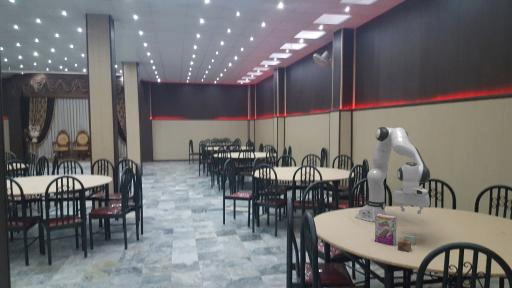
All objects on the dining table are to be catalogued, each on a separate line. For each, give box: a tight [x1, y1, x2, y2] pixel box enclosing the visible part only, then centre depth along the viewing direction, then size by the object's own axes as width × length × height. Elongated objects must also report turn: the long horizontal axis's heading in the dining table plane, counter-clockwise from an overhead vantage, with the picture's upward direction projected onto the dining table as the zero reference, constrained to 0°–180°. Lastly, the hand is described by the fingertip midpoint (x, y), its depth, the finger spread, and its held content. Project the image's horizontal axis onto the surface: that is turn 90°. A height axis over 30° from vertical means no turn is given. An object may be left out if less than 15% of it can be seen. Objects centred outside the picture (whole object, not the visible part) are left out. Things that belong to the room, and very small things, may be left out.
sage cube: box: [403, 233, 416, 246], centre depth 208 cm, size 4×4×4 cm
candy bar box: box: [374, 214, 397, 246], centre depth 209 cm, size 11×5×16 cm, turn 48°
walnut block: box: [397, 238, 412, 253], centre depth 198 cm, size 6×6×5 cm
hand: (410, 212), depth 207 cm, fingers open, 8 cm apart
